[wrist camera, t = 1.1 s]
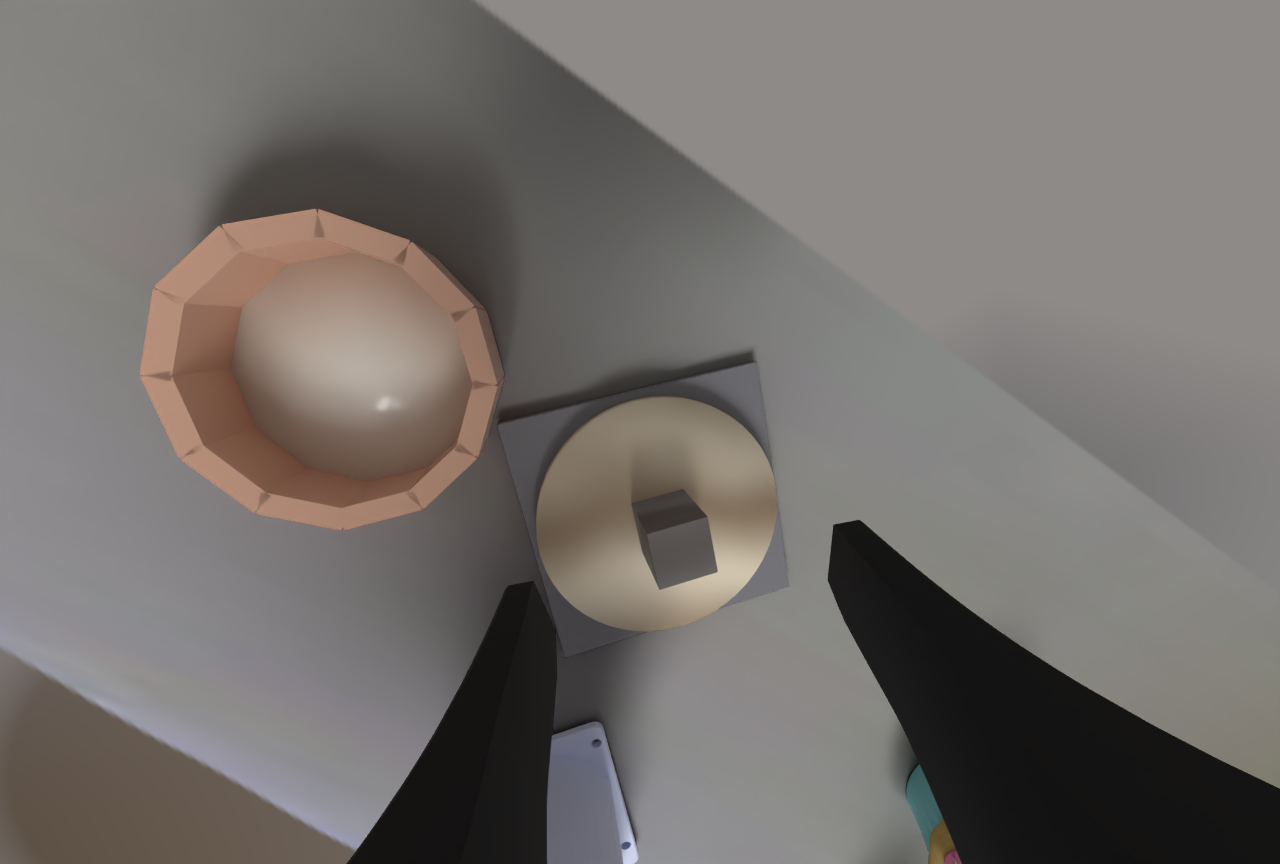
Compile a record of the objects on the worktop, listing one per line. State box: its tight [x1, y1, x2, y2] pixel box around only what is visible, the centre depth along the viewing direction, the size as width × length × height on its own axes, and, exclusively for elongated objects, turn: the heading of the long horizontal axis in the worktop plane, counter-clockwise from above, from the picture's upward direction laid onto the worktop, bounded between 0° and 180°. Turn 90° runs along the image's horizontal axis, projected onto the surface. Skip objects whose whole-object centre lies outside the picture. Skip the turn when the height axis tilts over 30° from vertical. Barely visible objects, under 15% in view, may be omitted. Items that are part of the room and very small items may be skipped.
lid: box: [536, 395, 777, 631], centre depth 20 cm, size 11×11×4 cm
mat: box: [497, 361, 789, 658], centre depth 22 cm, size 12×12×1 cm
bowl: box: [139, 209, 505, 531], centre depth 17 cm, size 10×10×4 cm
